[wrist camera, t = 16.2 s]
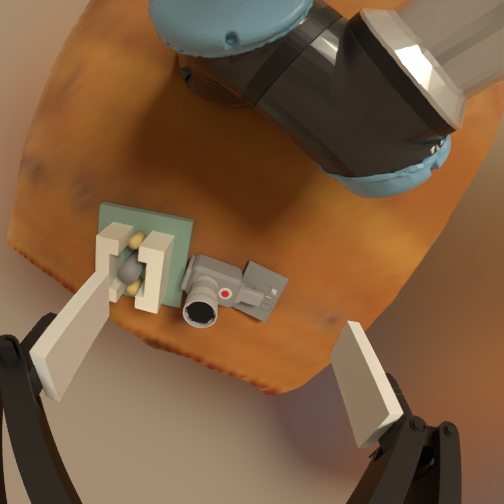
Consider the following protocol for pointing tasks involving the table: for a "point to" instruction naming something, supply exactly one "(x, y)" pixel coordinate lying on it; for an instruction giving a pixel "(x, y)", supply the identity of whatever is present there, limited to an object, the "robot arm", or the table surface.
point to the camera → (228, 290)
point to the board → (149, 226)
